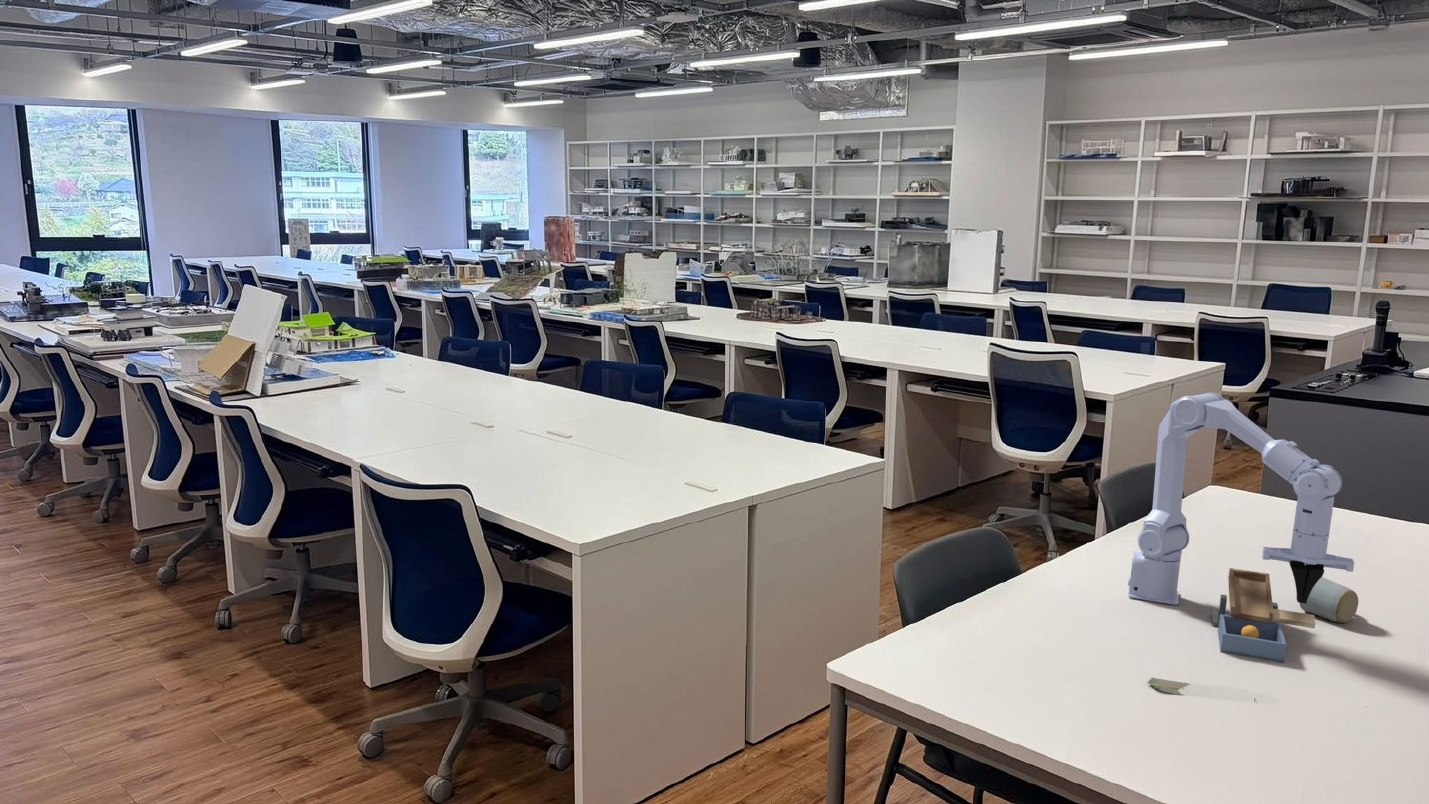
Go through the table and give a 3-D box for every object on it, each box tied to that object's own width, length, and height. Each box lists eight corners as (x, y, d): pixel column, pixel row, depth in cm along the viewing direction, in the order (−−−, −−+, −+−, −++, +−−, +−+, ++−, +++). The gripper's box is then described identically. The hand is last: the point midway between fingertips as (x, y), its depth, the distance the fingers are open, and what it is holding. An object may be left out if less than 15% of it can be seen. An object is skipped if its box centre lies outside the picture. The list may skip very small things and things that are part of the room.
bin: (1220, 651, 185) (1222, 633, 184) (1217, 631, 194) (1220, 614, 193) (1283, 662, 181) (1286, 644, 180) (1278, 641, 190) (1280, 623, 189)
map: (1143, 680, 173) (1143, 675, 173) (1271, 693, 170) (1272, 688, 170) (1149, 693, 169) (1150, 688, 168) (1282, 708, 165) (1283, 702, 165)
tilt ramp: (1228, 627, 192) (1231, 606, 191) (1226, 587, 204) (1229, 568, 202) (1312, 641, 187) (1316, 620, 185) (1305, 599, 198) (1309, 579, 197)
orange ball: (1242, 621, 189) (1240, 626, 191) (1241, 637, 187) (1239, 641, 190) (1260, 624, 187) (1258, 629, 190) (1260, 640, 186) (1257, 645, 189)
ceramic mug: (1337, 628, 197) (1343, 590, 196) (1295, 613, 204) (1301, 577, 203) (1367, 619, 202) (1373, 583, 201) (1325, 605, 209) (1331, 569, 208)
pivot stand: (1212, 625, 197) (1215, 600, 196) (1211, 615, 202) (1214, 590, 201) (1282, 637, 192) (1285, 611, 191) (1279, 626, 197) (1282, 600, 196)
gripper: (1268, 531, 184) (1259, 601, 187) (1360, 543, 179) (1350, 615, 181) (1265, 521, 191) (1256, 589, 193) (1354, 532, 185) (1343, 602, 188)
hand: (1301, 601), depth 188 cm, fingers closed
